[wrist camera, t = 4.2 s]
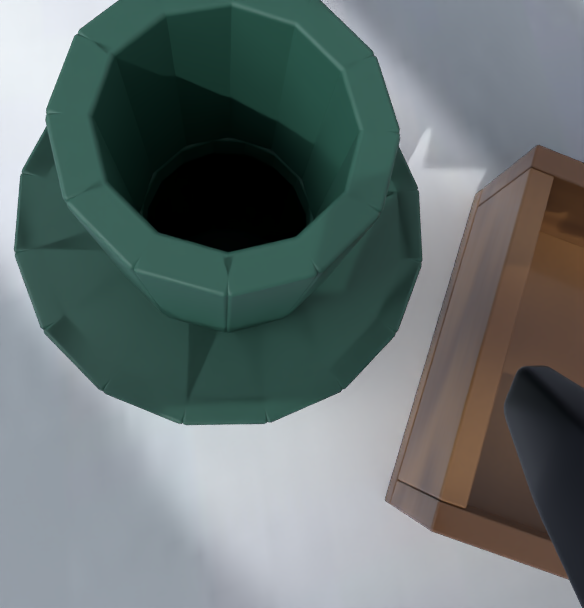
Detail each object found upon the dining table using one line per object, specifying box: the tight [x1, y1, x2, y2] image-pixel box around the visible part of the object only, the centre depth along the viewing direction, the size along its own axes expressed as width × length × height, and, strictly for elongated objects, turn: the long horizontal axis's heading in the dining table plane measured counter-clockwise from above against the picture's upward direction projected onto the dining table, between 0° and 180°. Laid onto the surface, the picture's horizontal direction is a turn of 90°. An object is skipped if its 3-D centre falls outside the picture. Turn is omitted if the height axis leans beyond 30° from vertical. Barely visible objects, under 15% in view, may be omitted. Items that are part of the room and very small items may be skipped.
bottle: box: [14, 0, 422, 425], centre depth 12 cm, size 6×6×13 cm
